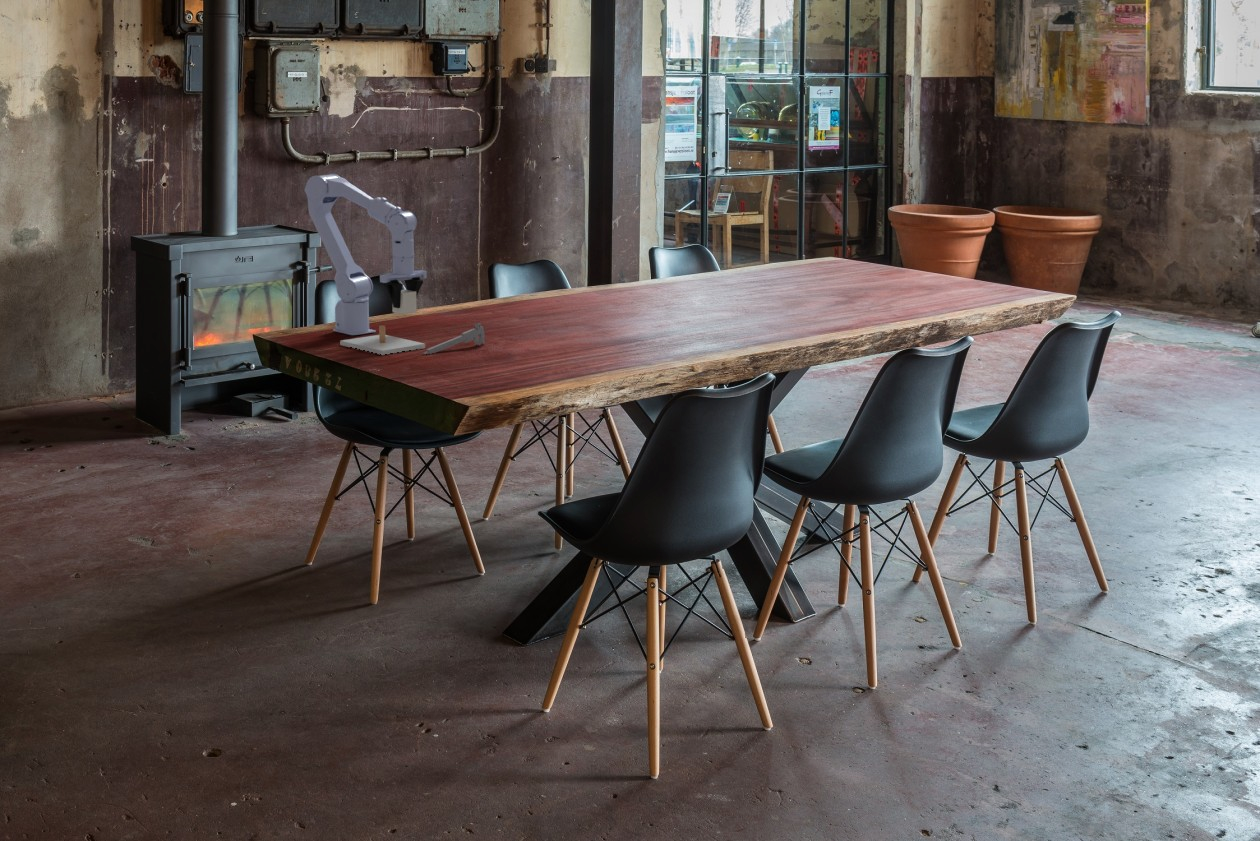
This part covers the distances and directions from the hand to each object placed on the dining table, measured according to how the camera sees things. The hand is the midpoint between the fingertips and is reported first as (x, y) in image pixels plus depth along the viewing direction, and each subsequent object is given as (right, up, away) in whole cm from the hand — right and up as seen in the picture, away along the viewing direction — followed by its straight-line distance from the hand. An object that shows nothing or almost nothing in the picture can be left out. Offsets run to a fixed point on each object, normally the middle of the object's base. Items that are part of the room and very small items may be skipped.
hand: (404, 306), depth 381 cm
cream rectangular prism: (0, -2, 0) cm, 2 cm away
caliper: (+15, -13, -13) cm, 24 cm away
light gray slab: (-4, -12, -12) cm, 17 cm away
